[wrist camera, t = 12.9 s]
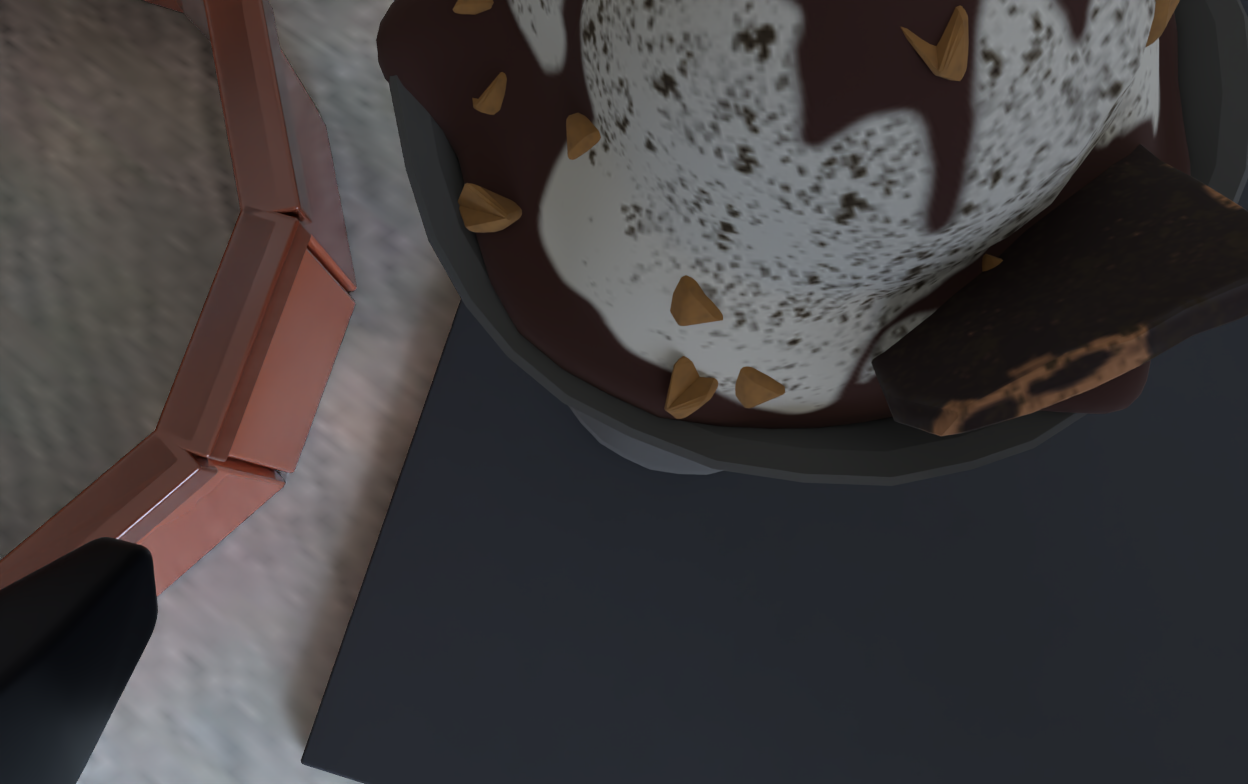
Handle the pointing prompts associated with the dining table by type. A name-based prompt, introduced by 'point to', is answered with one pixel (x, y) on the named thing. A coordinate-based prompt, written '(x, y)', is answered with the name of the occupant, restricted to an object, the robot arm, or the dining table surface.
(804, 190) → the sundae
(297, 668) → the dining table surface
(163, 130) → the dining table surface
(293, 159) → the serving tub
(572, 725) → the placemat
